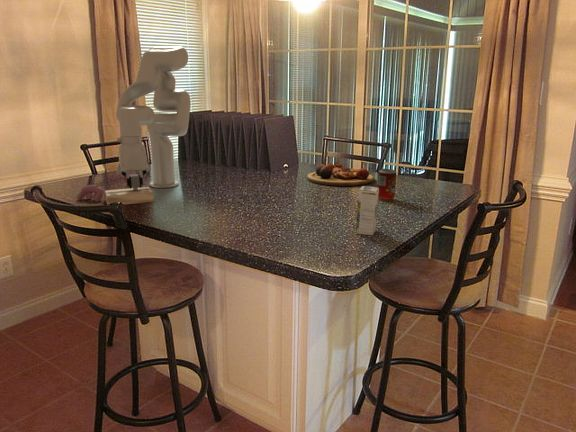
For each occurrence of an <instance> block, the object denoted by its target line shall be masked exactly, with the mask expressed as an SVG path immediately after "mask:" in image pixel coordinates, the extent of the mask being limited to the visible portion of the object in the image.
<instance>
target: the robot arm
mask: <svg viewBox="0 0 576 432" xmlns="http://www.w3.org/2000/svg"><path fill="white" fill-rule="evenodd" d="M140 59H141V60H140V62H139V68H138V71H137V75H136V79H135V81H134V82H132V83H131V84H130V85H129V86H127V87H126V88H125V89H124V91H123V92H122V93H121V94H120V97H119V99H118V103H117V107H116V110H115V111H116V112H115V113H116V114H115V115H116V117H115V118H116V120H117V121H118V122H119V133H120V136H119V137H117V138H116V142H119V143H120V144H119V145H118V146H119V147H118V165H117V167H116V169H115V172H116V173H117V174H120V175H122V176H123V177H125V178H126V187H128V189H129V188H130V189H131V188H133V187H132V186H131V178H130V175H131V174H130V172H134V171H135V172H136V171H138V176H139V181H140V187H139V188H141V187H142V186H144V184H143V182H144V181H143V178H144V176H145V175H146V173H148V172H150V171H152V181H150V182H149V187H150V188H151V187H152V188H155V189H167V188H169V189H170V188H174V187H178V186H179V181H178V180H176V173H175V155H174V154H175V153H174V144H173V143H172V141H171V139H170V138H169V136H170V137H183V136H185V135H187V132H188V130H189V122H190V114H191V97H190V94H189V92H188V91H187V90H184V89H176V83H177V82H176V78H175V76H174V74H173V72H178V71H180V70H181V69H184V68H185V67H186V66H187V65H188V62H189V54H188V50H186V48H185V47H183V46H154V47H151V48H150V49H148V50H145V52H143V54H142V56H141V58H140ZM151 93H153V99H152V100H153V103H152V105H153V108H154V109H155V110H156V111H159V113H156V112H154V109H153V108H152V107H151V106H147V105H136V104H135V105H134V104H133V103H134V102H135V101H136V100H138V99H140V98H142V97H144V96H147V95H149V94H151ZM132 104H133V105H132ZM160 112H161V113H160ZM162 112H165V113H162ZM166 112H168V113H166ZM141 126H146V127H147V132H148V136H149V137H148V138H149V142H150V143H149V144H150V153H151V166H150V164H149V163H148V157H147V151H146V147H145V143H143V142H142V128H141Z"/></svg>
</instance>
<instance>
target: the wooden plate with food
mask: <svg viewBox="0 0 576 432" xmlns="http://www.w3.org/2000/svg"><path fill="white" fill-rule="evenodd" d="M306 179H307V180H308V182H310V183H314V184H317V185H325V186H334V187H335V186H336V187H350V186H351V187H352V186H362V185H363V186H365V185H367V184H370V183H372V182H374V180H375V178H374V176H373V174H371V173H370V172H369V171H368V169H366V168H357V169H353V168H350V167H348V166H344V167H343V164H342V163H340V162H338V161H337V162H336V163H334V164H333V163H327V164H325V165H324V164H323V163H320V164H319V165H318V166H317V167H316V168H315V171H314V172H310V173H308V174H307V176H306Z"/></svg>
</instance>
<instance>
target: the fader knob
mask: <svg viewBox="0 0 576 432" xmlns="http://www.w3.org/2000/svg"><path fill="white" fill-rule="evenodd" d="M138 175H139V173H138V174H137V173H133V174H130V178H131V186H132V188H133V190H138V188H140V181H139V176H138Z"/></svg>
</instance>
